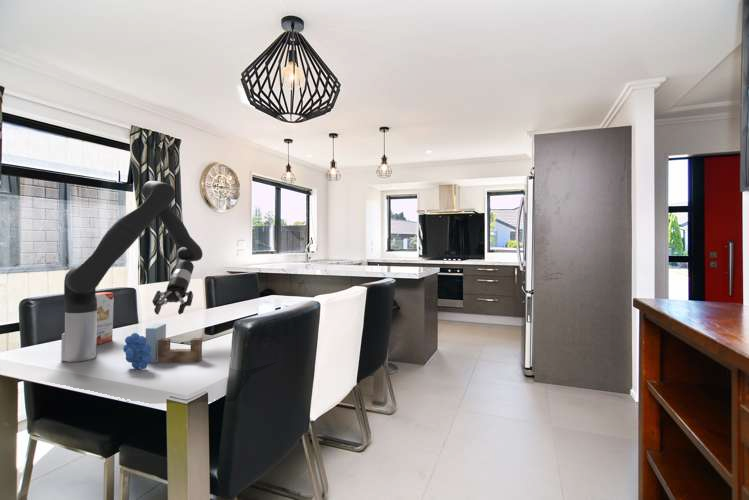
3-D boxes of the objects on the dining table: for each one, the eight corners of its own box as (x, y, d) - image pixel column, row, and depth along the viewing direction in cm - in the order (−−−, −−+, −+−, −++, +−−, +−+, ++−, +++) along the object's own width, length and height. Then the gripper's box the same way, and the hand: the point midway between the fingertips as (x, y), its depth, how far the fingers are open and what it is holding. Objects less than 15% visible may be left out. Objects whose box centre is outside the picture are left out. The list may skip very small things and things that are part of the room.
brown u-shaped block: (157, 362, 136) (158, 340, 136) (161, 360, 139) (161, 338, 139) (199, 362, 138) (199, 340, 138) (201, 359, 141) (202, 338, 141)
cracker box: (83, 348, 152) (84, 296, 152) (70, 347, 154) (71, 295, 154) (113, 340, 166) (114, 292, 166) (102, 339, 167) (103, 291, 167)
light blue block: (145, 362, 137) (145, 328, 137) (155, 355, 145) (156, 323, 145) (155, 361, 137) (156, 328, 137) (165, 355, 146) (166, 323, 146)
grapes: (111, 370, 127) (112, 334, 127) (130, 364, 133) (131, 330, 133) (138, 374, 123) (139, 337, 123) (156, 368, 130) (157, 333, 130)
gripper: (159, 275, 160) (145, 307, 148) (195, 276, 162) (184, 307, 150) (164, 287, 165) (151, 318, 154) (199, 287, 167) (189, 318, 156)
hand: (168, 313), depth 152 cm, fingers open, 8 cm apart
